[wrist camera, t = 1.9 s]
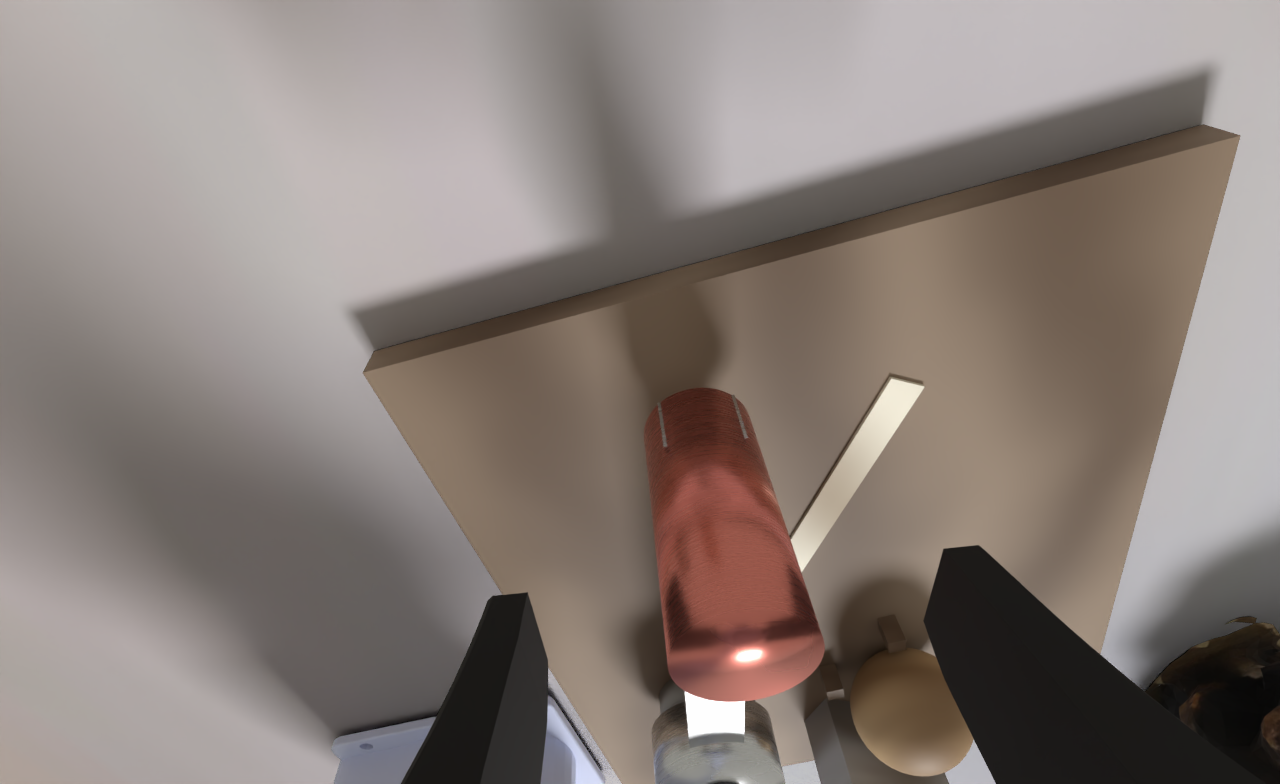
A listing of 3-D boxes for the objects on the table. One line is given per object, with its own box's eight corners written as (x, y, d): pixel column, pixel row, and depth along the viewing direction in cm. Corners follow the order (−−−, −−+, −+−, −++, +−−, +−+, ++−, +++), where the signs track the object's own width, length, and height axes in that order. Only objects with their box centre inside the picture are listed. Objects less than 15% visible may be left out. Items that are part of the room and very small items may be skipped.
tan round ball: (839, 695, 25) (876, 807, 22) (830, 637, 23) (870, 753, 20) (942, 674, 25) (995, 785, 22) (943, 614, 23) (1003, 728, 19)
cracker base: (628, 772, 30) (632, 879, 26) (374, 351, 16) (316, 460, 13) (1070, 686, 28) (1138, 790, 24) (1202, 124, 14) (1397, 181, 11)
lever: (768, 750, 25) (812, 949, 20) (656, 763, 25) (671, 965, 20) (790, 378, 15) (890, 595, 10) (599, 398, 15) (604, 625, 10)
